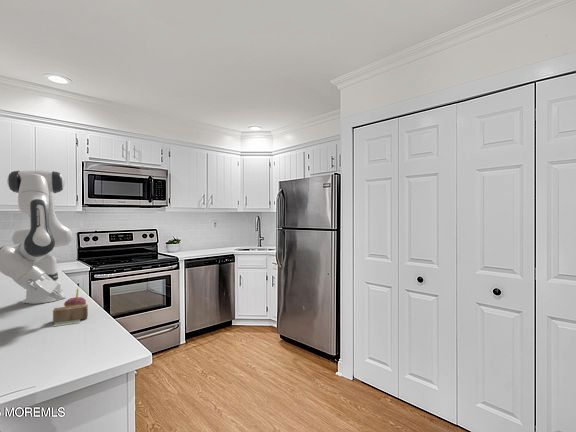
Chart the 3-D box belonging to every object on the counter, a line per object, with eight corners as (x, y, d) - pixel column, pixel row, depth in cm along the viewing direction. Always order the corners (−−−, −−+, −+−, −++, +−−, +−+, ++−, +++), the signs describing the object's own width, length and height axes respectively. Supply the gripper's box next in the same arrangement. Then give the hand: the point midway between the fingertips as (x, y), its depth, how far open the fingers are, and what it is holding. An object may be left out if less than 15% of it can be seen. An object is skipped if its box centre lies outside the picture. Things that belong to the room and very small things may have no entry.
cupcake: (90, 311, 153) (90, 285, 153) (71, 316, 146) (71, 289, 146) (78, 309, 157) (78, 284, 157) (60, 314, 149) (59, 288, 149)
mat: (58, 317, 145) (58, 316, 145) (82, 314, 149) (82, 313, 149) (53, 326, 133) (53, 325, 133) (79, 323, 137) (79, 322, 137)
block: (54, 307, 141) (87, 304, 146) (55, 319, 141) (87, 315, 146) (52, 310, 136) (86, 306, 142) (53, 322, 136) (86, 318, 142)
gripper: (33, 276, 127) (63, 298, 132) (43, 268, 145) (69, 288, 150) (18, 289, 125) (50, 311, 130) (30, 280, 143) (58, 299, 148)
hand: (60, 298), depth 140 cm, fingers closed
